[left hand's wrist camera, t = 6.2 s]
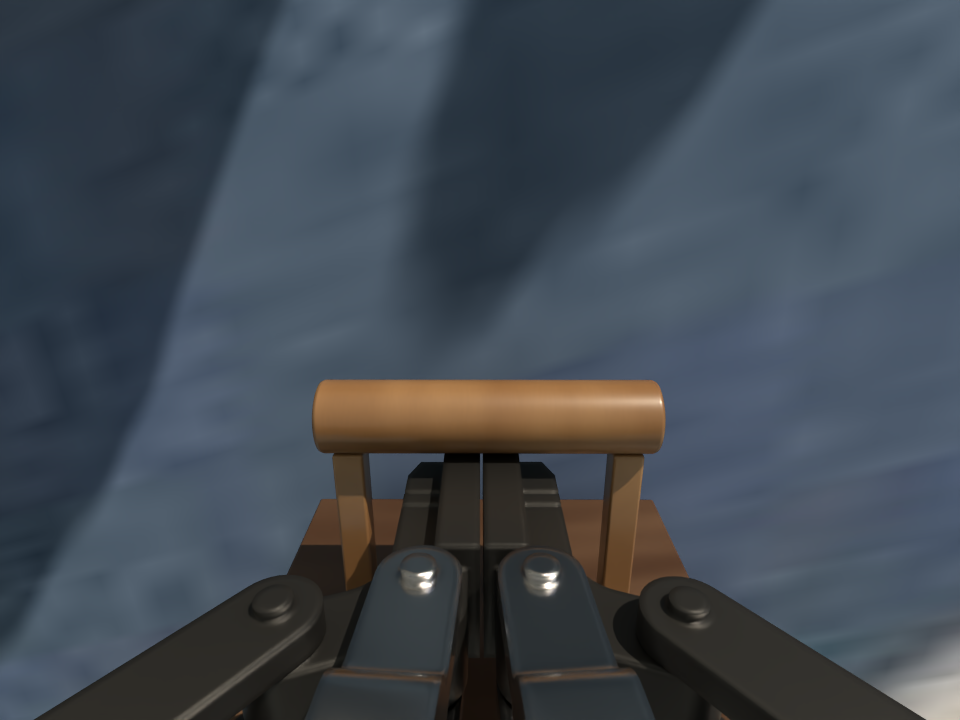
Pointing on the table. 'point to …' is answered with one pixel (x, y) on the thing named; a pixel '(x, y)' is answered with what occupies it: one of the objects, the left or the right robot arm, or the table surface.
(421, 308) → the table surface
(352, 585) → the drawer
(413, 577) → the left robot arm
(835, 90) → the table surface
